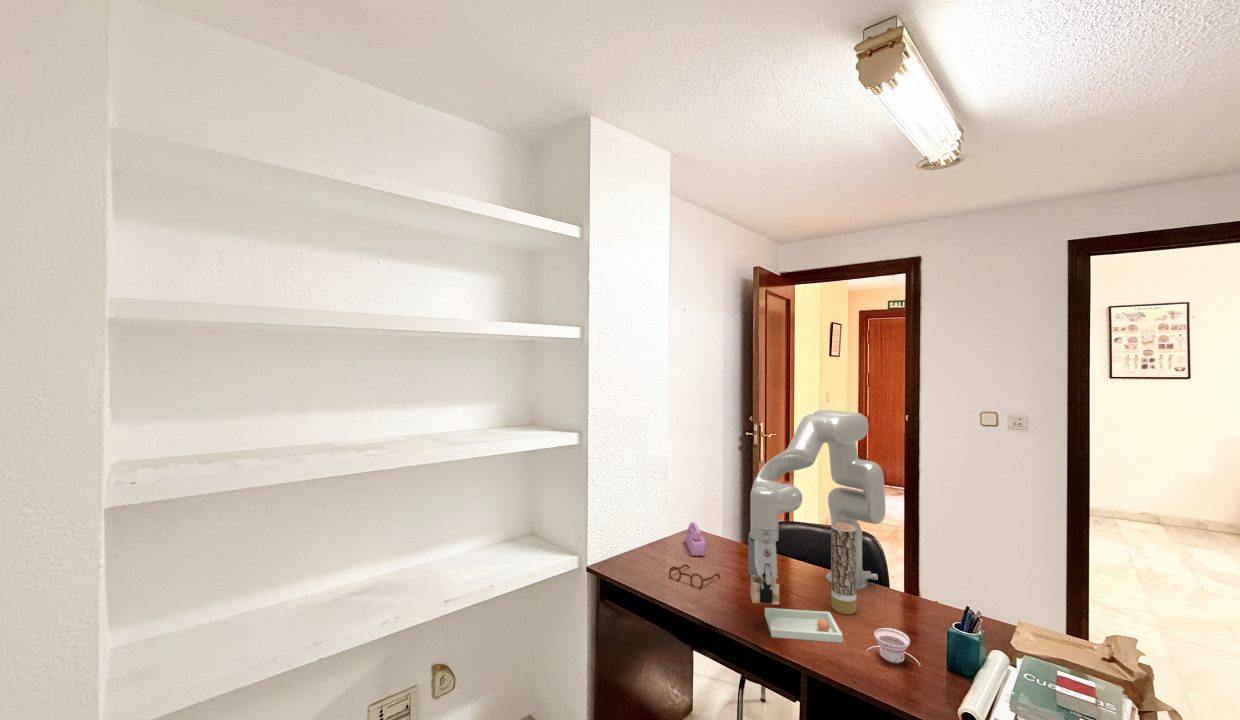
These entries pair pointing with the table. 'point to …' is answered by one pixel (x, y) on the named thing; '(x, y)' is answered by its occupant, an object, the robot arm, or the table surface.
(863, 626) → the table surface
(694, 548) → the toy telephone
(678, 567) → the glasses
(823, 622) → the ball
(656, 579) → the table surface
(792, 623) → the tray
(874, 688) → the table surface
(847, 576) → the paper tube
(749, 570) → the smartphone
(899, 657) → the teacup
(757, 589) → the beige open holder
